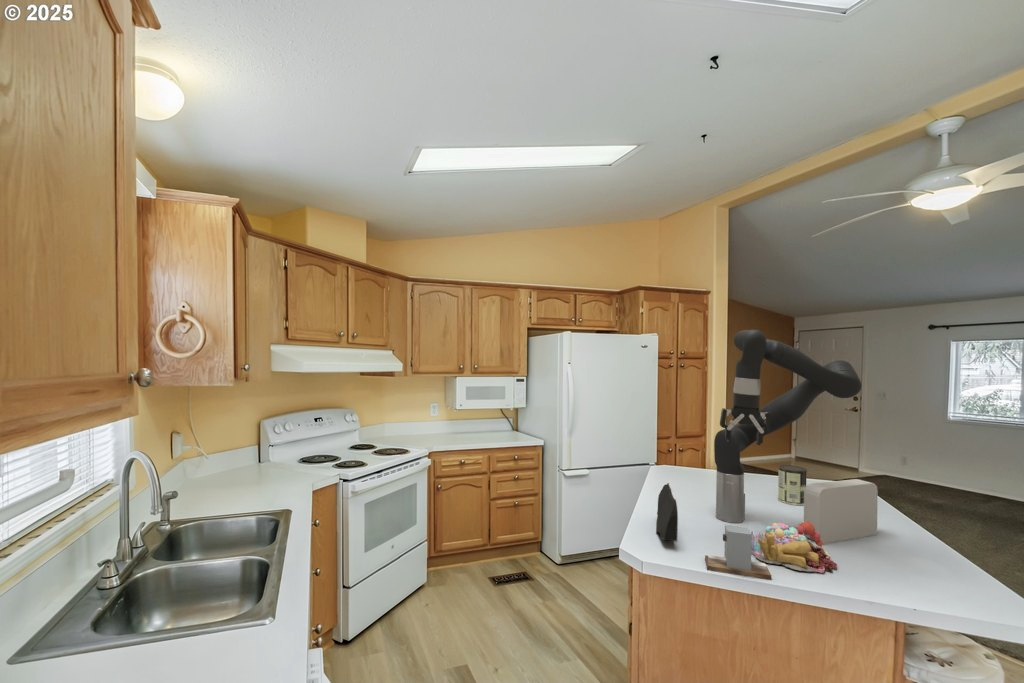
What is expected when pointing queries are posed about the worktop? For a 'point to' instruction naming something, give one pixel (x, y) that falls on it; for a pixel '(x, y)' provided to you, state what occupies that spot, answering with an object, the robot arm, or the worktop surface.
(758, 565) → the DIN rail board
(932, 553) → the worktop surface
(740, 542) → the breaker module
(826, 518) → the rounded-edge off-white block
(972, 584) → the worktop surface
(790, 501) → the coffee can
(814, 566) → the candy landscape model
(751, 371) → the robot arm
